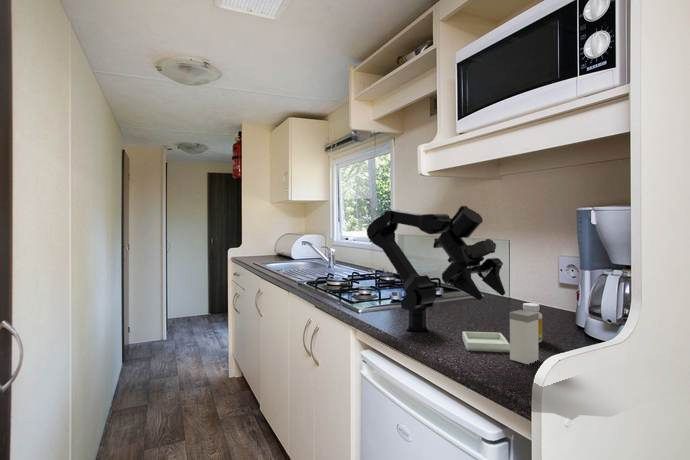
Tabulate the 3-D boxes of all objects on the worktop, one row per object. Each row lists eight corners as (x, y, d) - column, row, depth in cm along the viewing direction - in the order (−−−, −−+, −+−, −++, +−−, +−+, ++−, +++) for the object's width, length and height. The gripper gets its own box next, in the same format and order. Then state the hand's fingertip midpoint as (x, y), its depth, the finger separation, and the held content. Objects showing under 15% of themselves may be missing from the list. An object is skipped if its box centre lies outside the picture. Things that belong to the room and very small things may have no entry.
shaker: (509, 359, 94) (509, 312, 94) (520, 355, 96) (520, 309, 96) (527, 364, 90) (527, 315, 90) (538, 360, 93) (538, 313, 93)
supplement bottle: (536, 337, 111) (535, 302, 111) (546, 343, 106) (546, 306, 105) (516, 337, 111) (516, 302, 110) (526, 343, 105) (526, 306, 105)
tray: (462, 338, 110) (462, 331, 110) (500, 340, 108) (500, 332, 108) (467, 350, 100) (467, 342, 100) (509, 352, 99) (509, 344, 99)
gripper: (450, 229, 98) (490, 280, 89) (496, 227, 109) (535, 273, 100) (426, 259, 105) (461, 309, 96) (472, 254, 115) (507, 299, 107)
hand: (493, 296), depth 100 cm, fingers open, 9 cm apart
